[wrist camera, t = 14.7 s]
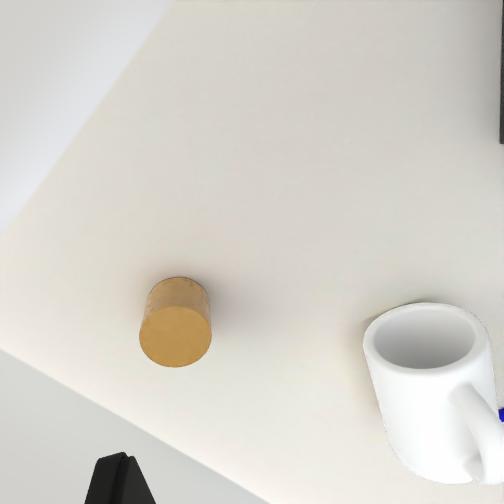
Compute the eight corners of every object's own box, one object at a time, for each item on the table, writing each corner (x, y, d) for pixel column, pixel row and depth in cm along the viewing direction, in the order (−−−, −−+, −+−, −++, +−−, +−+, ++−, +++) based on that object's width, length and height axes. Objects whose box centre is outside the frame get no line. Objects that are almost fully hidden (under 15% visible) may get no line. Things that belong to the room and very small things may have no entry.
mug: (372, 417, 36) (453, 558, 25) (345, 324, 32) (427, 441, 21) (458, 385, 36) (577, 511, 25) (441, 289, 32) (574, 386, 21)
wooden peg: (139, 285, 28) (129, 316, 24) (200, 270, 29) (201, 298, 24) (157, 337, 30) (151, 375, 26) (215, 322, 30) (218, 357, 26)
